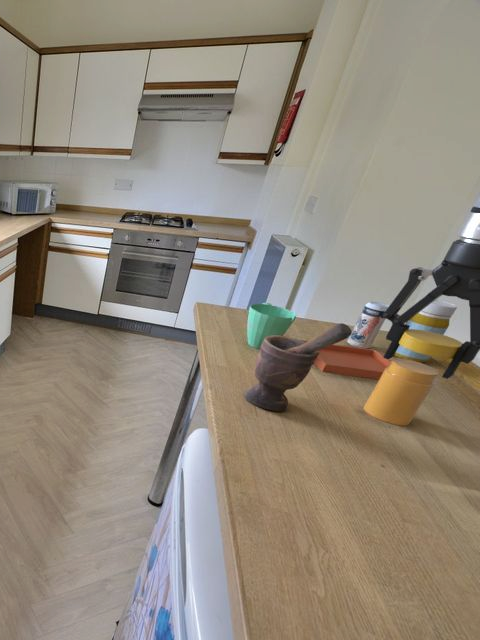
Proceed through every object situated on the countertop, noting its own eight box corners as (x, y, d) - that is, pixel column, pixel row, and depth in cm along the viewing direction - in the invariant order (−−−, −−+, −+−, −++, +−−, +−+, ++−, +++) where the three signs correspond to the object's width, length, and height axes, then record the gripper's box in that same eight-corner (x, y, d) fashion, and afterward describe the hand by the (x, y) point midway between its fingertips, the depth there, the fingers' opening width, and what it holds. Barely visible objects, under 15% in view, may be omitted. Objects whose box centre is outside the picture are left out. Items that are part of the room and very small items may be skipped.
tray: (371, 356, 105) (375, 349, 104) (409, 384, 93) (414, 376, 92) (295, 346, 109) (298, 339, 108) (322, 371, 96) (325, 364, 95)
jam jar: (395, 408, 83) (423, 361, 78) (418, 428, 77) (451, 378, 72) (356, 402, 84) (381, 355, 80) (376, 421, 78) (405, 371, 74)
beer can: (341, 341, 113) (362, 300, 108) (357, 341, 113) (377, 301, 108) (358, 349, 108) (380, 307, 103) (374, 349, 109) (396, 307, 104)
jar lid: (391, 344, 75) (397, 333, 74) (406, 337, 79) (412, 326, 78) (448, 362, 70) (456, 350, 69) (462, 353, 73) (469, 342, 72)
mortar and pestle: (315, 412, 80) (362, 318, 72) (302, 428, 75) (352, 330, 66) (250, 386, 88) (285, 299, 79) (234, 400, 83) (271, 308, 74)
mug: (284, 357, 102) (300, 321, 97) (239, 348, 106) (252, 312, 101) (274, 336, 114) (288, 303, 109) (234, 329, 118) (246, 296, 113)
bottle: (389, 357, 105) (419, 302, 99) (389, 348, 110) (418, 296, 103) (427, 366, 101) (461, 310, 95) (425, 357, 106) (458, 303, 99)
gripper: (397, 232, 72) (341, 348, 82) (590, 259, 56) (492, 398, 66) (412, 229, 76) (357, 341, 85) (598, 254, 60) (504, 387, 70)
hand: (416, 366), depth 76 cm, fingers closed on jar lid, 7 cm apart
